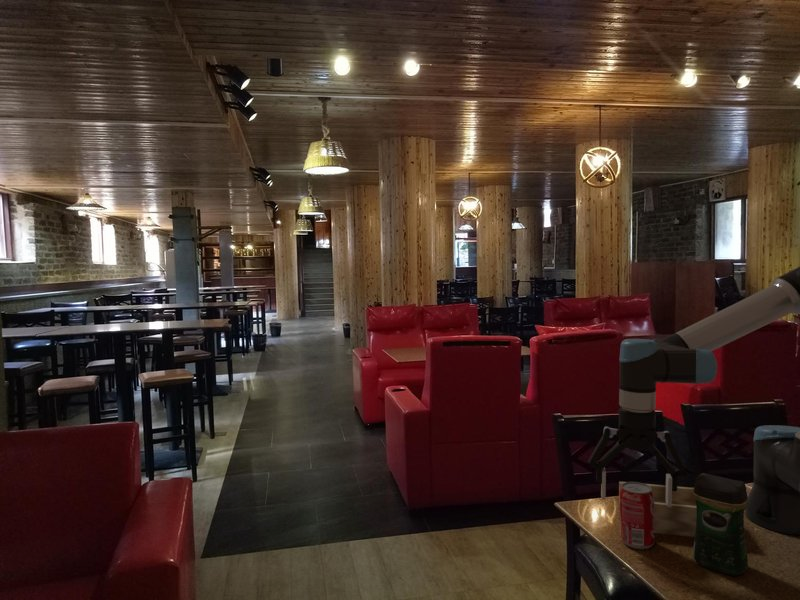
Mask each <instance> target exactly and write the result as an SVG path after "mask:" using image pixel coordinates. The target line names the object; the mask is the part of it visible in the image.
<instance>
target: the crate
mask: <svg viewBox="0 0 800 600" xmlns="http://www.w3.org/2000/svg"><path fill="white" fill-rule="evenodd" d="M626 482H627V481H619V482H618V484H619V485H618V498H619V499H618V501H619V502H618V503H619V504H618V507H619V510H620V490H621V489H622V484H623V483H626ZM645 484H646V485H648V486H650V487H651V489H652V493H653V495H654V533H655V534H660V535H661V534H662V535H669V534H670V535H669V536H671V535H673V536H680V537H681V536H682V537H689V538H695V531H696V520H697V507H696V502H695V499H694V496H693V490H694V487H687V486H677V491H676V492H675V491H672V507H668V506H667V504H666V484H665V485H664V484H652V483H645Z"/></svg>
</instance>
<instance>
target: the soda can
mask: <svg viewBox="0 0 800 600" xmlns="http://www.w3.org/2000/svg"><path fill="white" fill-rule="evenodd" d="M625 482H626V483H623V484H622V489H621V490H620V509H619V529H620V530H619V534H620V539H621V541H622V542H623V544H624V545H625V546H627V547H629V548H632V549H635V550H648V549H650V548H651V547H653V546H654V544H655V542H656V541H655V536H656V535H655V534H656V533H654V495H653V493H652V489H651V487H650V486H648V485H646V484H647V483H642V482H639V481H625Z"/></svg>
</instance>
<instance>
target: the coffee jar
mask: <svg viewBox="0 0 800 600" xmlns="http://www.w3.org/2000/svg"><path fill="white" fill-rule="evenodd" d="M693 486H694V487H693V488H694V490H693V496H694V499H695V502H696V507H697V520H696V531H695V537H694V540H693V541H694V542H693V549H692V550H693V552H692V553H693V554H692V555H693V559H694V561H695V562H696V563H697V564H698V565H700V566H702V567H704V568H707V569H710V570H712V571H716V572H719V573H723V574H726V575H728V576H729V575H730V576H739V575H743V574H745V572H746V571H747V569H748V566H749V564H748V563H749V561H748V552H747V551H748V549H747V542H746V533H745V520H744V519H745V508H746V506H747V503H748V491H747V485H746V483H745V482H744V481H743V480H736V479H732V478H728V477H723V476H719V475H715V474H713V475H712V474H708V473H705V472H702V473H700V474H698V475H697V476H696V477H695V480H694V485H693Z"/></svg>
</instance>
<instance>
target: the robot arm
mask: <svg viewBox="0 0 800 600" xmlns="http://www.w3.org/2000/svg"><path fill="white" fill-rule="evenodd" d="M790 314H793V315H800V266H798V267H796V268H794V269H792V270H789V271H788V272H786V273H784V274H782V275H780V276H778V277H776V278H774V279H773V280H772V281H771V284H770V286H768V287H766V288H764V289H762V290H760V291H757V292H755V293H754V294H751V295H750V296H748V297H746V298H744V299H742V300H740V301H736V303H734V304H732V305H729V306H727V307H726V308H724V309H721V310H719V311H717V312H715V313H713V314H711V315H710V316H707V317H705V318H703V319H701V320H699V321H698V322H697V321H696V323H692V325H691V324H690V325H689V326H687V327H685V328H683V329H681V330H679V331H677V332H675V333H673V334H670V335H668V336H666V337H665V338H655V339H647V338H626V339H624V340H622V341H621V343H620V348H619V358H618V360H619V361H618V362H619V388H618V389H619V393H618V405H619V406H620V407H619V408H618V426H617V428H612V427H610V426H608V425H604V426H603V431H602V432H603V433H602V435H601V437H600V439H599V441H598V443H597V444H596V446H595V447H594V450H593V452H592V453H591V455H590V456H589V458H588V460H587V461H588V466H589V467H590V468H593V469H595V473H596V475H595V480H596V483H597V484H598V485H601V486H600V487H601V489H600V496H601V497H600V498H601V500H602V501H603V500H604V501H606V497H607V496H606V495H607V494H606V493H607V491H606V490H607V489H606V488H607V486H606V485H607V484H606V483H607V478H606V477H607V471H606V467H607V466H608V465H609V464H610V463H611V462H612V461H613V460H614V459H615V458H616V457H617V456H618V455H619V454H620V453H621V452H623V451H624V450H625V449H628V450H629V451H635V450H637V451H640V452H645V451H646V450H649V452H650V453H651V454H652V455H653V456H654V458H655V459H657V461H658V462H660V464H661V465H662V466H663V468H664V469H665V470H666V471H667V472H668V473H666V474H665V486H666V504H667V506H668V507H672V491H675V492H676V491H677V487H678V479H679V478H680V477H682V476H683V477H685V476H687V475H688V472H687V469H686V468H685V465H684V464H683V463H682V460H681V458H680V457H679V454H678V452H677V450H676V449H675V447H674V445H673V441H672V440H673V439H672V434H671V432H670V431H669V430H667V429H665V430H663V431H656V430H657V429H656V417H657V416H656V411H655V409H656V408H657V407H656V406H657V405H656V403H657V400H656V399H657V383H660V384H662V383H667V384H668V383H671V384H672V383H673V384H675V383H676V384H695V385H698V384H710V383H713V382H714V380H715V379H716V376H717V374H718V362H717V358H716V356H715V354H714V353H713V351H714V350H717V349H719V348H721V347H723V346H726V345H727V344H730V343H731V342H734V341H736V340H738V339H741V338H742V337H744V336H747V335H748V334H750V333H753V332H754V331H756V330H759V329H761V328H762V327H765V326H767V325H769V324H771V323H774V322H776V321H778V320H779V319H782V318H784V317H786V316H788V315H790ZM615 435H616V437H618V438H619V440H617V441H616V443H615V444H614V445H613V446H612V447H611V448H610V449H609V450H608V451H607V452H606V453H605V454H604V455H603V456H602V457H601V458H600V456H601V454H602V453H603V451H604V450H605V448H606V446H607V445H608V442H609V441H610V439H612V438H613V437H614V436H615ZM657 439H660V440H661V442H662V443H664V445H665V446H666V447H667V449H668V452H669V453H670V455H671V457H672V459H673V462H674V463H675V465H676V468H674V467H673V465H672V464H671V463H670V462H669V461H668V460H667V459H666V458H665V456H664V455H663V454H662V453H661V452H660V451H659V449H658V448H657V447H656V445H654V442H656V441H657ZM752 441H753V485H752V487H751V490H750V492H749V494H748V495H747V497H748V503H747V506H746V508H745V510H744V516H745V517H746V518H747V519H748V520H749V521H751V522H752V523H754V524H756V525H758V526H761V527H762V528H764V529H766V530H767V529H768V530H771V531H774V532H778V533H782V534H786V535H787V534H788V535H796V536H800V427H799V426H791V425H780V424H779V425H778V424H777V425H776V424H774V425H773V424H772V425H770V424H768V425H760V426H757V427H756V428H755V429H754V435H753V440H752ZM599 458H600V459H599ZM598 459H599V460H598Z"/></svg>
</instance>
